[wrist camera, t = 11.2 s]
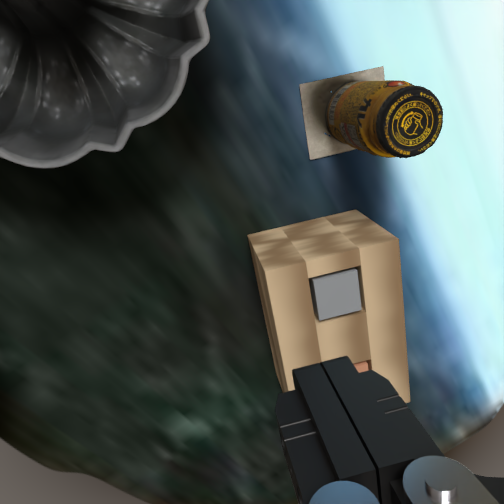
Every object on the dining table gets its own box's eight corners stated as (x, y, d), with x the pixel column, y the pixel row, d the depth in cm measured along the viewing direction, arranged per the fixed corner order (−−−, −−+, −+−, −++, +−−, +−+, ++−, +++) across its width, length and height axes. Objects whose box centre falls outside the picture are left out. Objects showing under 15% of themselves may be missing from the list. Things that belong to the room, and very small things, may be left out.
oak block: (276, 372, 53) (296, 432, 44) (247, 234, 47) (264, 271, 37) (370, 348, 54) (410, 401, 45) (355, 209, 48) (398, 238, 38)
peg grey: (297, 284, 47) (319, 320, 40) (291, 249, 46) (313, 281, 39) (333, 275, 48) (361, 309, 40) (328, 241, 46) (357, 270, 39)
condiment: (388, 141, 46) (456, 158, 35) (309, 159, 45) (352, 183, 34) (382, 66, 43) (453, 59, 32) (298, 84, 42) (341, 83, 31)
